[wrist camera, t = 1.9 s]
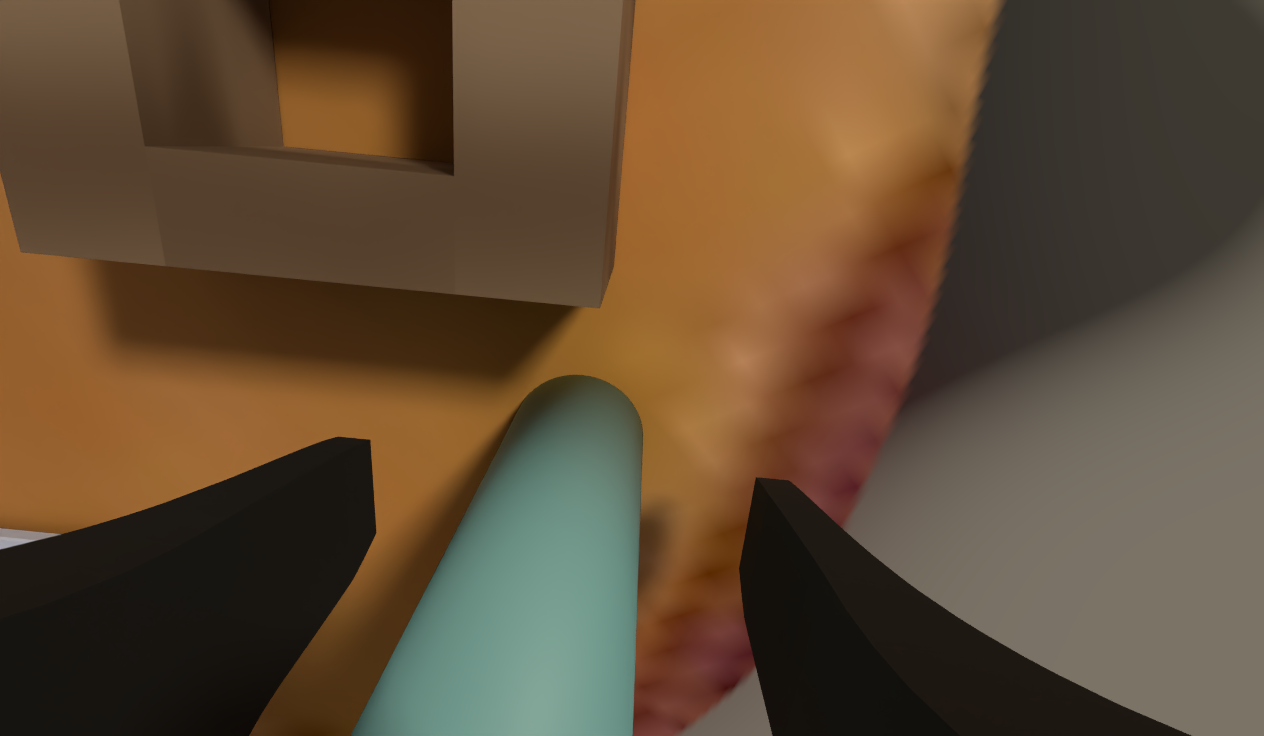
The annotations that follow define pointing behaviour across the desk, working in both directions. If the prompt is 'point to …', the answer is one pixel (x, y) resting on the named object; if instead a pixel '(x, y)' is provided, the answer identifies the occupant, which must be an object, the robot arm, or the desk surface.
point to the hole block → (315, 179)
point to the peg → (532, 585)
